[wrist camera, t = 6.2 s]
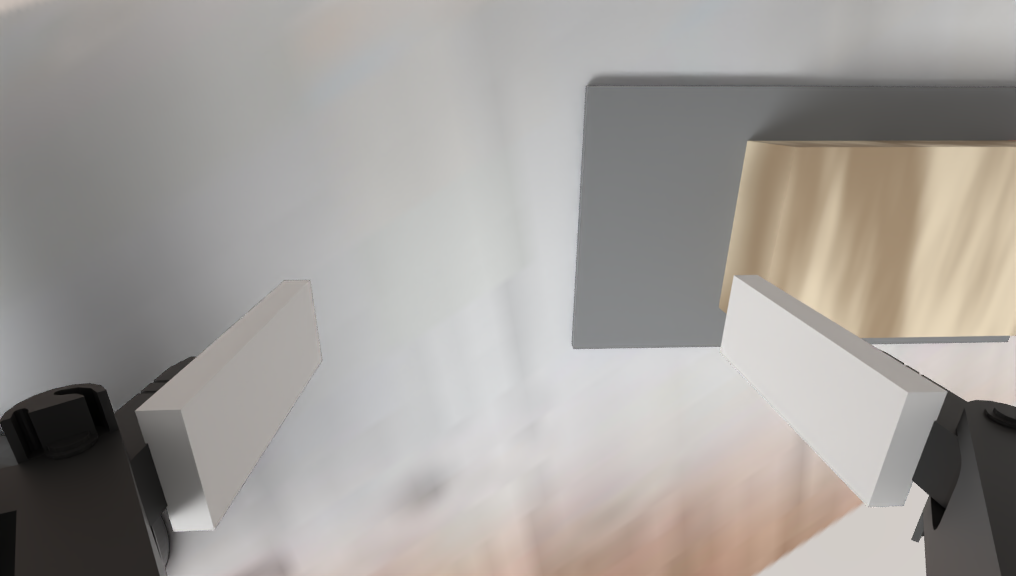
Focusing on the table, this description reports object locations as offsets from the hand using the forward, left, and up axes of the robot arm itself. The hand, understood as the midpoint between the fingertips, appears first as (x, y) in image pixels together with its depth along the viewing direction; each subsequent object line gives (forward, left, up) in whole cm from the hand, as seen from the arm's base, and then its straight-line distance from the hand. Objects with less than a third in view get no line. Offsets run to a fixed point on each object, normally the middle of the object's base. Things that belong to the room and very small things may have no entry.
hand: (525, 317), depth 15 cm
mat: (+17, 0, -11) cm, 20 cm away
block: (+12, 0, -9) cm, 15 cm away
